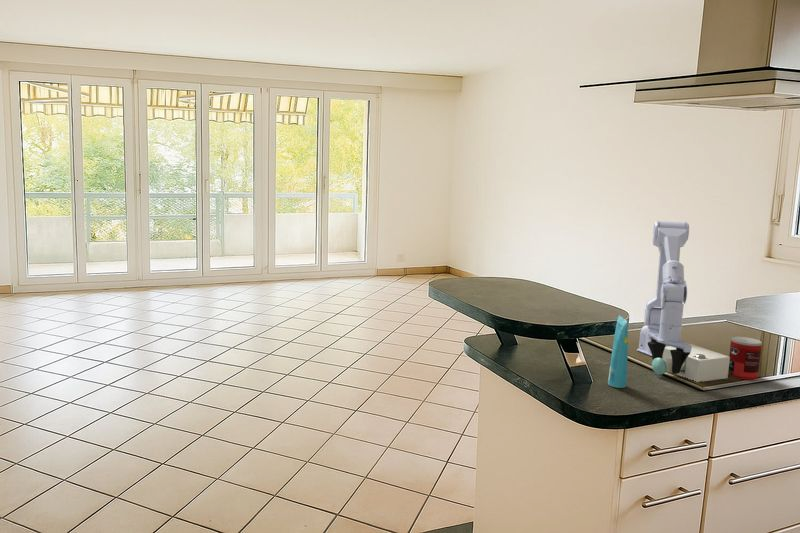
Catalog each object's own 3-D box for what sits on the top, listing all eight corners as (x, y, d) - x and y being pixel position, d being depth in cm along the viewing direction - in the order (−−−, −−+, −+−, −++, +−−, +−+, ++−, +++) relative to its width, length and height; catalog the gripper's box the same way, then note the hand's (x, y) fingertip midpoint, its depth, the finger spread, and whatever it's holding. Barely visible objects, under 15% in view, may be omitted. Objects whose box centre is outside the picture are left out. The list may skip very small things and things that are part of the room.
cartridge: (651, 371, 181) (652, 355, 181) (694, 366, 188) (695, 351, 187) (663, 376, 177) (665, 360, 176) (707, 371, 183) (708, 355, 182)
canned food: (730, 370, 188) (734, 335, 186) (760, 376, 183) (764, 340, 181) (724, 376, 182) (728, 339, 180) (755, 382, 177) (759, 345, 175)
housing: (659, 367, 189) (661, 347, 188) (689, 363, 193) (691, 343, 192) (696, 382, 176) (698, 360, 175) (727, 378, 180) (729, 356, 179)
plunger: (692, 367, 179) (694, 354, 178) (699, 366, 180) (700, 353, 179) (699, 370, 177) (701, 356, 176) (705, 369, 178) (707, 356, 177)
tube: (630, 390, 168) (636, 321, 165) (613, 390, 168) (619, 321, 165) (619, 380, 175) (625, 314, 172) (603, 380, 175) (608, 314, 172)
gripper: (641, 319, 183) (637, 363, 185) (679, 331, 170) (675, 378, 172) (659, 317, 186) (655, 361, 188) (699, 329, 173) (694, 376, 175)
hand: (666, 369), depth 180 cm, fingers open, 6 cm apart
